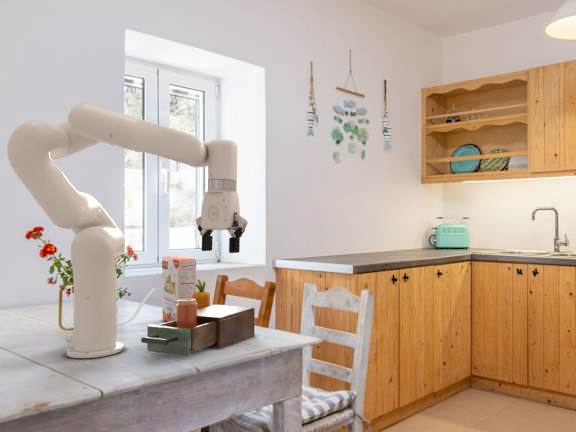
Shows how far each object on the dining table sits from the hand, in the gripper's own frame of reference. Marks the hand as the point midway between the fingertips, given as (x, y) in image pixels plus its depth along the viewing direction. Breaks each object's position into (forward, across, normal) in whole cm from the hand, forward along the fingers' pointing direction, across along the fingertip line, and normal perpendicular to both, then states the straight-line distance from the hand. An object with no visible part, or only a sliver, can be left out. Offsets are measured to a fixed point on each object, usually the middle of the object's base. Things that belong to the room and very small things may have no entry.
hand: (220, 251), depth 139 cm
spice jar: (+23, -4, -7) cm, 24 cm away
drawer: (+24, -4, -9) cm, 26 cm away
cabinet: (+25, -5, +5) cm, 26 cm away
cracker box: (+26, -33, +16) cm, 44 cm away
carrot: (+25, -19, +12) cm, 34 cm away
